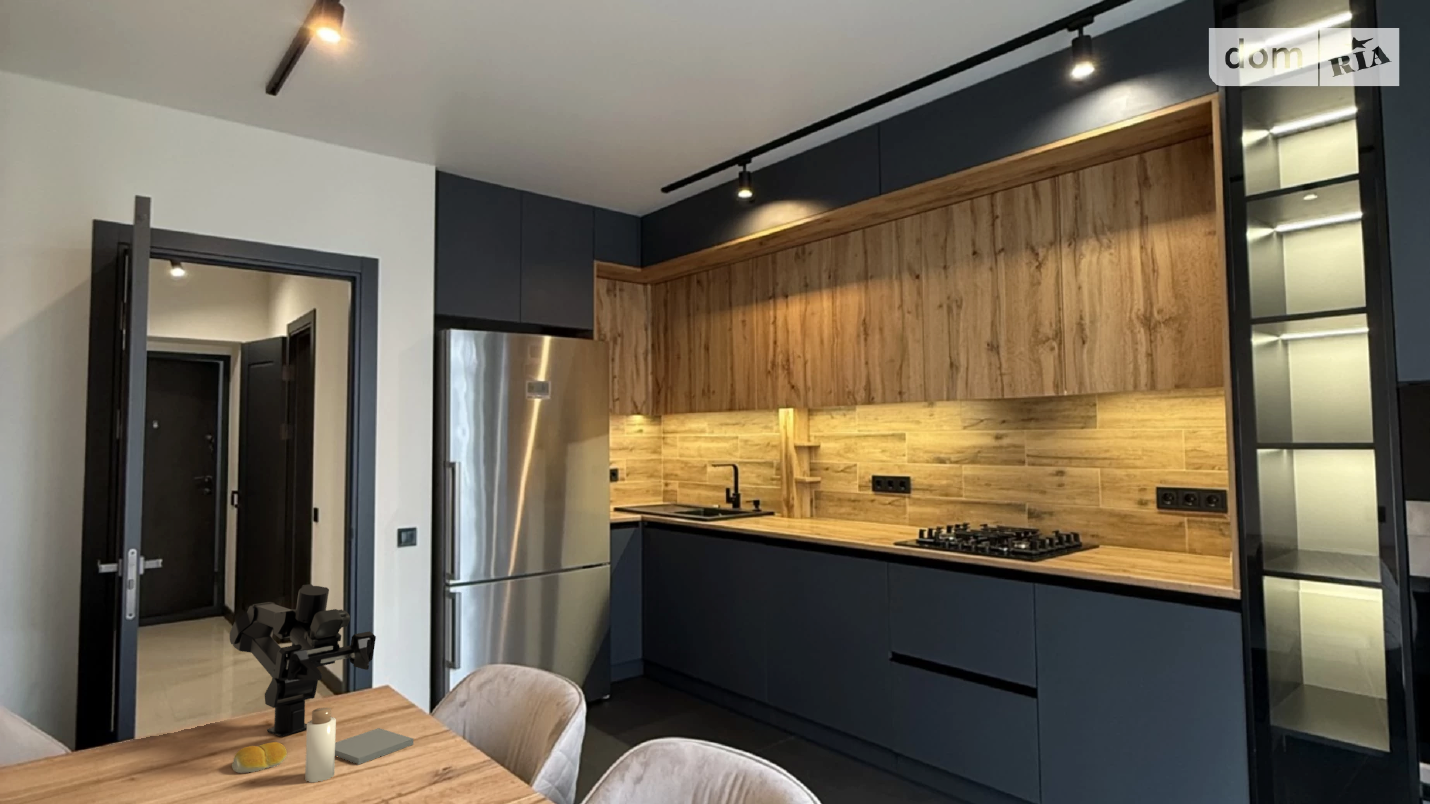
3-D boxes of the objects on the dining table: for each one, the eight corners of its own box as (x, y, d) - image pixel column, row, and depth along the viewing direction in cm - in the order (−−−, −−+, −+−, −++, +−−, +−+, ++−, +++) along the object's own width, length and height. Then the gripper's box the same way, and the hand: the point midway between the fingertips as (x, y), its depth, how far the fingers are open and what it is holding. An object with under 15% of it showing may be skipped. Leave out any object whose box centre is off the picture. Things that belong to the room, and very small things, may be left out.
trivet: (323, 752, 150) (324, 746, 150) (378, 733, 160) (378, 728, 160) (358, 764, 143) (358, 758, 143) (413, 744, 153) (413, 738, 153)
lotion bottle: (299, 778, 137) (302, 711, 138) (325, 769, 141) (327, 704, 142) (314, 784, 135) (316, 716, 136) (339, 775, 139) (341, 708, 140)
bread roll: (292, 763, 145) (293, 742, 145) (239, 778, 138) (240, 755, 139) (278, 752, 150) (279, 732, 151) (227, 766, 144) (228, 744, 144)
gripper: (270, 611, 150) (301, 642, 140) (362, 597, 164) (396, 625, 154) (262, 663, 151) (292, 698, 141) (354, 645, 165) (388, 676, 155)
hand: (345, 672), depth 148 cm, fingers open, 9 cm apart
